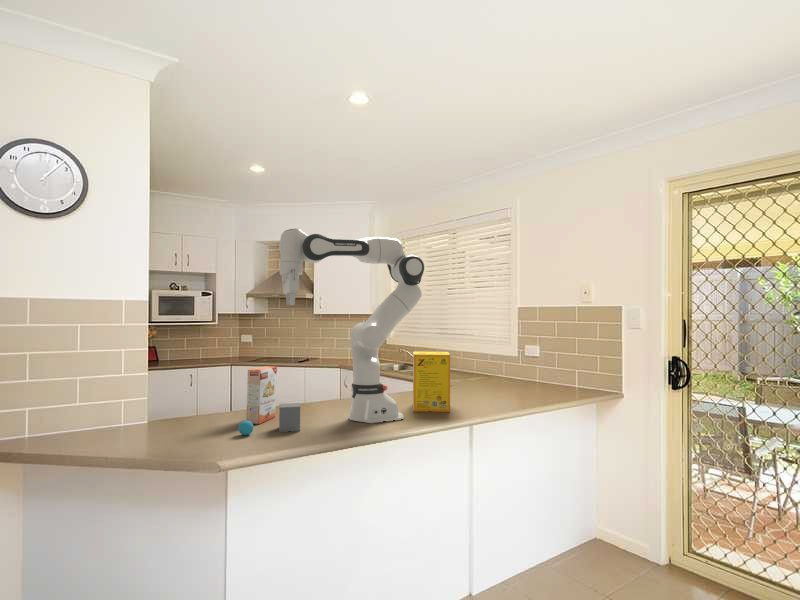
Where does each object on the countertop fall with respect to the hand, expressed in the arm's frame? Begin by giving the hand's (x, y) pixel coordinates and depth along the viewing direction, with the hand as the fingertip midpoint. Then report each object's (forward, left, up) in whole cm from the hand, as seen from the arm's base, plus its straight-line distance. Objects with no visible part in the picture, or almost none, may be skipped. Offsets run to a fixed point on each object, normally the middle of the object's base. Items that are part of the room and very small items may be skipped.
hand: (290, 305), depth 184 cm
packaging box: (-64, -15, -46) cm, 80 cm away
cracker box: (+10, -7, -46) cm, 48 cm away
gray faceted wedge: (0, +10, -46) cm, 47 cm away
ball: (+15, +15, -43) cm, 48 cm away
